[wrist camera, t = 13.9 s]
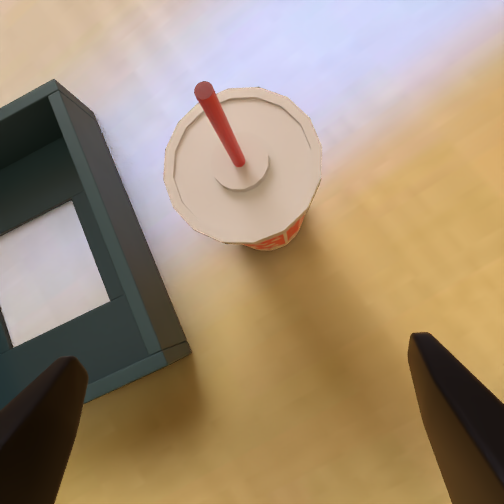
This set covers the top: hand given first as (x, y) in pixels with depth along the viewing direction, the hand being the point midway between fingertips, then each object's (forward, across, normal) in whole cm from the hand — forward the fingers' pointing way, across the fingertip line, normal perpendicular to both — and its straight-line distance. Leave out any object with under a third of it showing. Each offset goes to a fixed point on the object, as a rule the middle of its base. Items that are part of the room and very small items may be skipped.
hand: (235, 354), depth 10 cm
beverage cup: (+13, 0, +4) cm, 14 cm away
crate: (+12, +15, +6) cm, 20 cm away
